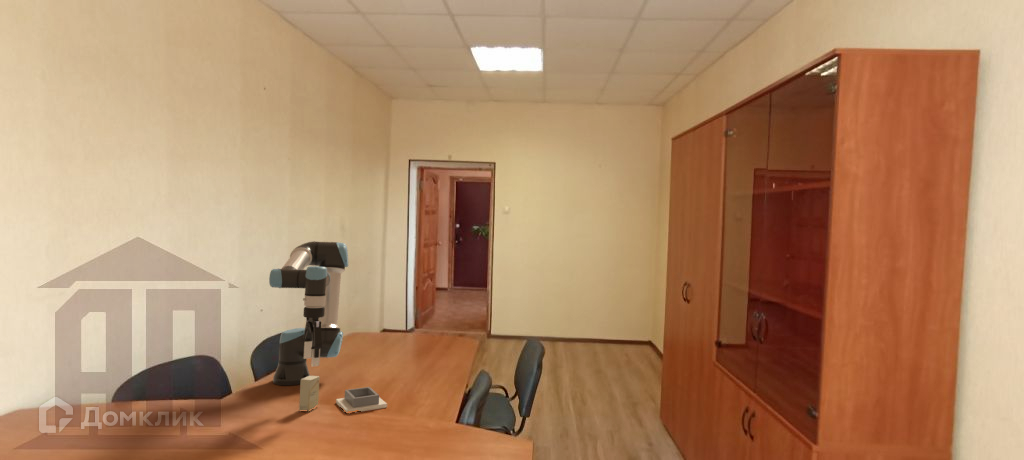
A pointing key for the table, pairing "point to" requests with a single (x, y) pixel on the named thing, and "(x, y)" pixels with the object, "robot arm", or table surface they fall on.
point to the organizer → (361, 400)
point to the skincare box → (309, 392)
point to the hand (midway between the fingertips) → (311, 362)
